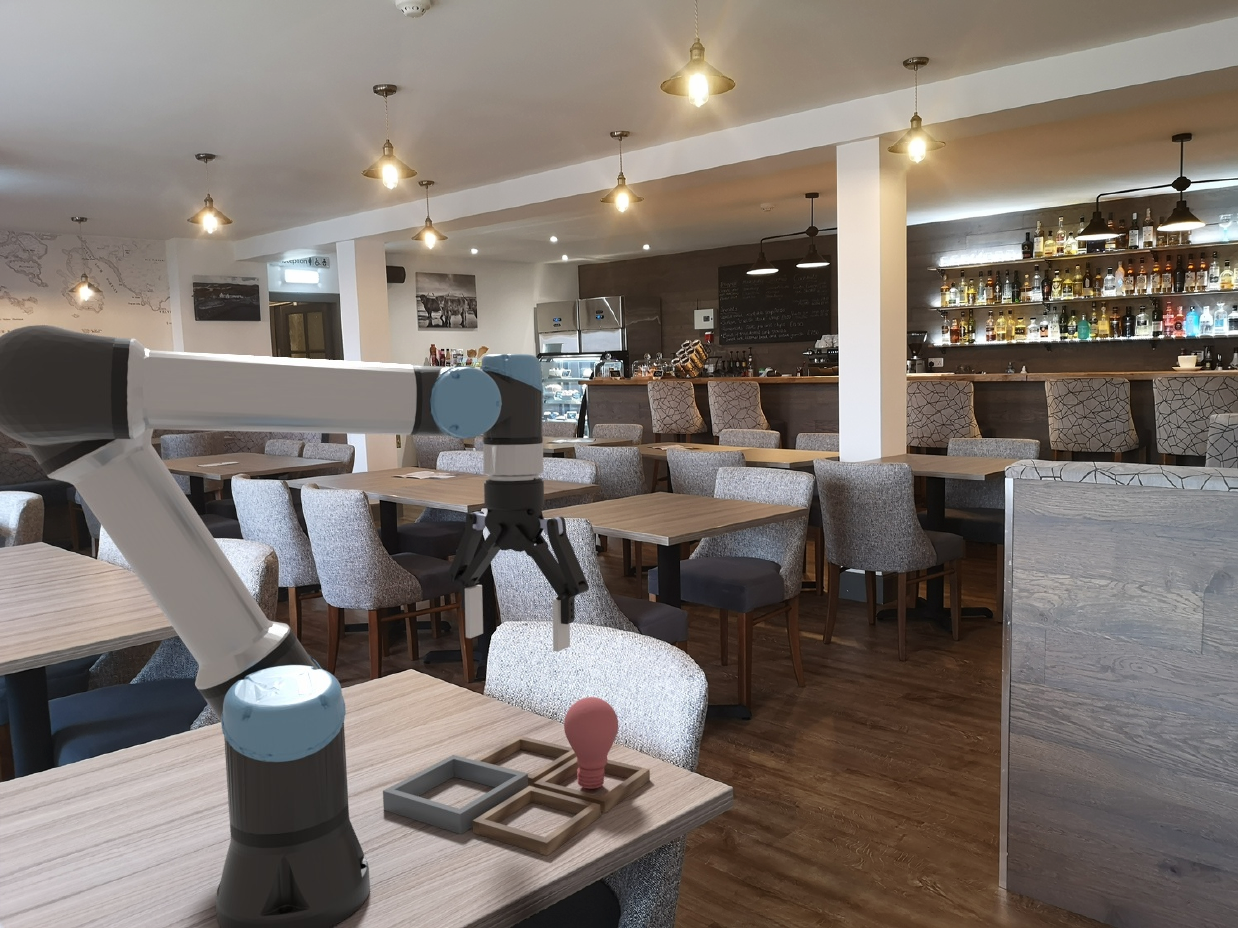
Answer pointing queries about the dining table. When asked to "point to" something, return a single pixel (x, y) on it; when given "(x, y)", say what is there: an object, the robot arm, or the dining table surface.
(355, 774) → the dining table surface
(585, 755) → the light bulb
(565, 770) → the frame
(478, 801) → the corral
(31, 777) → the dining table surface
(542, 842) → the frame
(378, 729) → the dining table surface
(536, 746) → the frame
